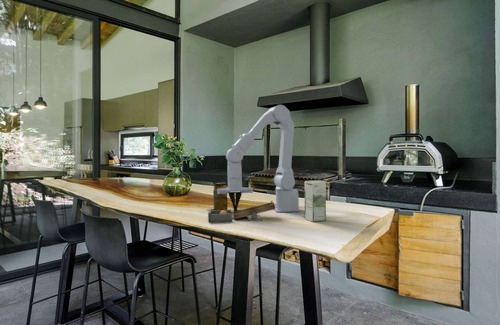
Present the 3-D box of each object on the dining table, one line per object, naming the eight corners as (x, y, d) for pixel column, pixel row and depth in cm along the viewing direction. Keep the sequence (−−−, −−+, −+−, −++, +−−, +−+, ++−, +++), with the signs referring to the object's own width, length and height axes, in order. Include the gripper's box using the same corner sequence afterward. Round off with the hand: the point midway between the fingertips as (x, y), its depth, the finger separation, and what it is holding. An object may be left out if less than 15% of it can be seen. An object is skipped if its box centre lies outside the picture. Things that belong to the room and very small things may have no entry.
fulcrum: (259, 215, 126) (259, 208, 126) (261, 220, 118) (261, 212, 118) (247, 215, 126) (246, 208, 126) (248, 220, 118) (248, 213, 118)
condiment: (231, 210, 137) (230, 183, 137) (214, 213, 133) (213, 184, 132) (223, 208, 143) (222, 181, 143) (206, 210, 139) (205, 183, 138)
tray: (231, 216, 125) (231, 207, 125) (231, 221, 117) (231, 212, 117) (209, 217, 124) (209, 208, 124) (208, 222, 116) (208, 213, 116)
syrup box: (317, 217, 120) (317, 179, 120) (326, 220, 115) (326, 181, 114) (304, 219, 118) (303, 180, 118) (312, 222, 113) (312, 182, 112)
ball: (228, 216, 123) (226, 209, 123) (228, 218, 120) (226, 210, 120) (220, 218, 123) (219, 210, 123) (220, 219, 120) (218, 212, 120)
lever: (270, 203, 132) (269, 197, 132) (275, 208, 120) (273, 202, 120) (233, 212, 131) (232, 207, 131) (234, 219, 119) (232, 213, 119)
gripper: (251, 176, 133) (252, 208, 134) (217, 177, 132) (217, 209, 133) (253, 178, 126) (253, 211, 127) (216, 178, 125) (217, 213, 126)
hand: (235, 210), depth 130 cm, fingers closed
